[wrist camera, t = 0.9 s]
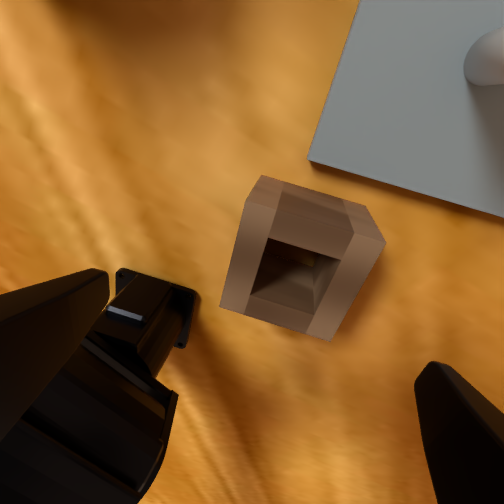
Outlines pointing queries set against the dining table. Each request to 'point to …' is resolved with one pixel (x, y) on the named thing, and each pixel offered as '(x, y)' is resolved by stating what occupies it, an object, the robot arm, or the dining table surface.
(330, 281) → the hollow square sleeve
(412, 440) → the dining table surface
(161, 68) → the dining table surface
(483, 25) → the grey peg base
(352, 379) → the dining table surface
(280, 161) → the dining table surface
